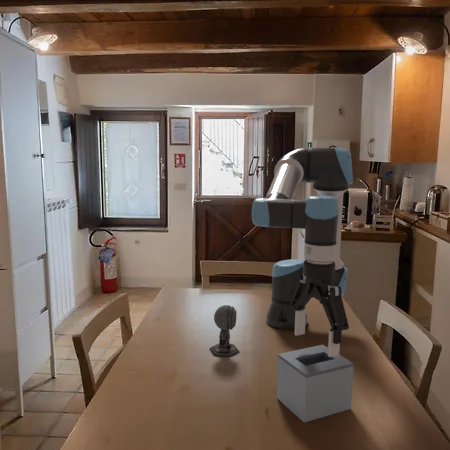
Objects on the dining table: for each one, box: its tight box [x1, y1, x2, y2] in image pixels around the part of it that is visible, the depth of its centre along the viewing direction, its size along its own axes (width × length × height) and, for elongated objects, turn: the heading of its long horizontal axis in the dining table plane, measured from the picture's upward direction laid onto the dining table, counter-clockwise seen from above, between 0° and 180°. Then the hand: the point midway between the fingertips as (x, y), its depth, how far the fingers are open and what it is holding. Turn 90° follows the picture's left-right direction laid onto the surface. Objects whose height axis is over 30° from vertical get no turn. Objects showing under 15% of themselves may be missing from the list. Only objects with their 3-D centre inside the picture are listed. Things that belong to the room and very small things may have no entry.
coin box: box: [276, 344, 354, 423], centre depth 115 cm, size 14×12×12 cm
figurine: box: [209, 304, 240, 358], centre depth 144 cm, size 9×10×15 cm
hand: (315, 344), depth 113 cm, fingers open, 13 cm apart
